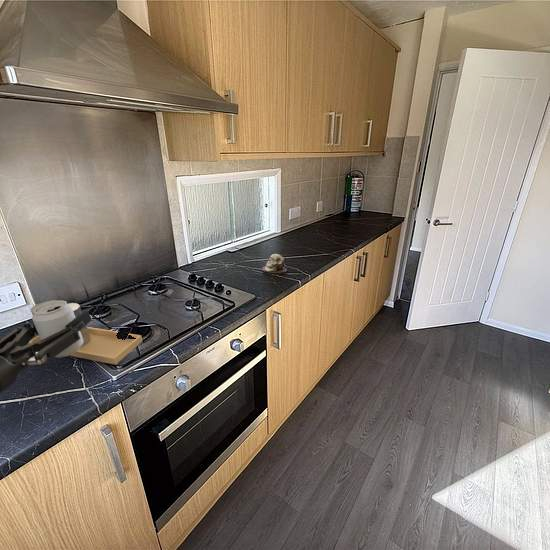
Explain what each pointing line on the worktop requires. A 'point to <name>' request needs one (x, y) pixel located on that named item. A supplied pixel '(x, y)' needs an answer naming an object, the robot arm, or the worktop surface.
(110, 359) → the tray
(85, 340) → the silver can
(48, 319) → the can
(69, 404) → the worktop surface
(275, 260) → the skull
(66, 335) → the robot arm
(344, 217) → the worktop surface
